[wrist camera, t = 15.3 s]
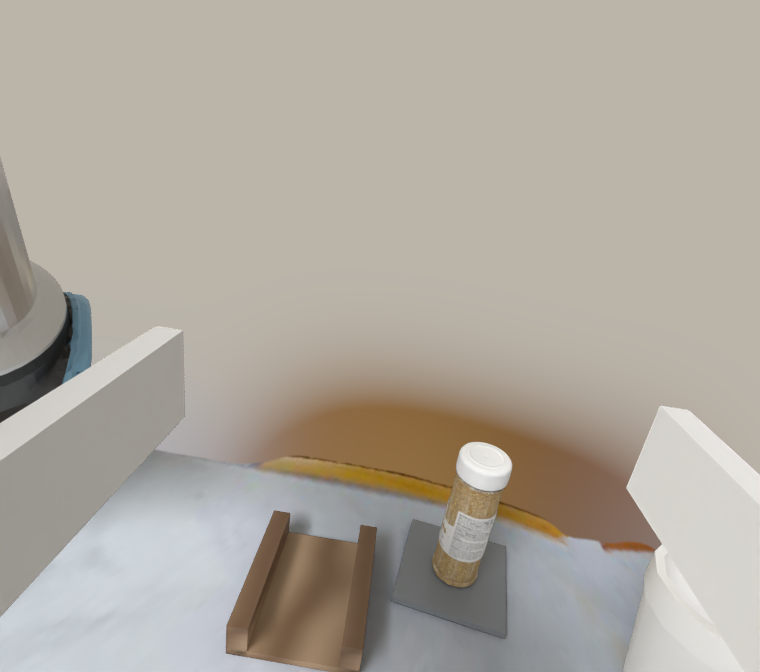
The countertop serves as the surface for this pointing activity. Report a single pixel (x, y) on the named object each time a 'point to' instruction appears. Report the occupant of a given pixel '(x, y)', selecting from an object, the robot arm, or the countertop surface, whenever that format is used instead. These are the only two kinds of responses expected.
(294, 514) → the countertop surface
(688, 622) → the foam cup
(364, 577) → the walnut cradle
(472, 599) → the slate coaster
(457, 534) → the spice jar
